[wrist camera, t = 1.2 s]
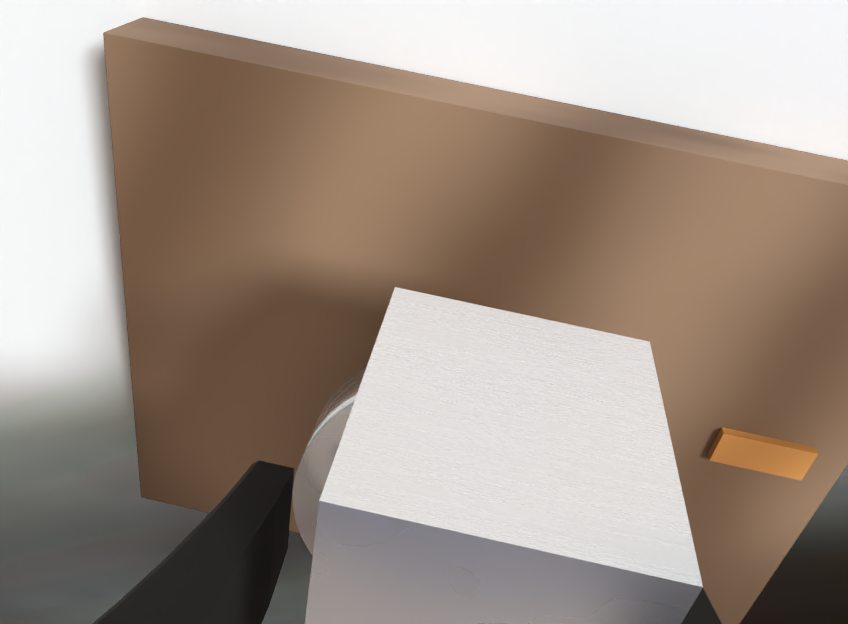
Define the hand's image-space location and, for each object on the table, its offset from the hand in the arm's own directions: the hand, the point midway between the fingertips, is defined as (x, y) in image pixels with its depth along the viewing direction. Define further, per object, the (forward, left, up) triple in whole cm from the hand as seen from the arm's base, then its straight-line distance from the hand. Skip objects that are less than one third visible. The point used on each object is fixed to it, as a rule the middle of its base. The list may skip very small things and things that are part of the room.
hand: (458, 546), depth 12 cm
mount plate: (0, 0, -6) cm, 6 cm away
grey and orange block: (0, 0, -2) cm, 2 cm away
